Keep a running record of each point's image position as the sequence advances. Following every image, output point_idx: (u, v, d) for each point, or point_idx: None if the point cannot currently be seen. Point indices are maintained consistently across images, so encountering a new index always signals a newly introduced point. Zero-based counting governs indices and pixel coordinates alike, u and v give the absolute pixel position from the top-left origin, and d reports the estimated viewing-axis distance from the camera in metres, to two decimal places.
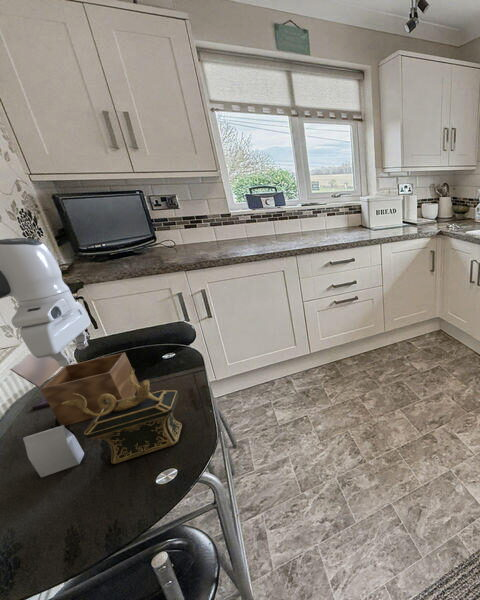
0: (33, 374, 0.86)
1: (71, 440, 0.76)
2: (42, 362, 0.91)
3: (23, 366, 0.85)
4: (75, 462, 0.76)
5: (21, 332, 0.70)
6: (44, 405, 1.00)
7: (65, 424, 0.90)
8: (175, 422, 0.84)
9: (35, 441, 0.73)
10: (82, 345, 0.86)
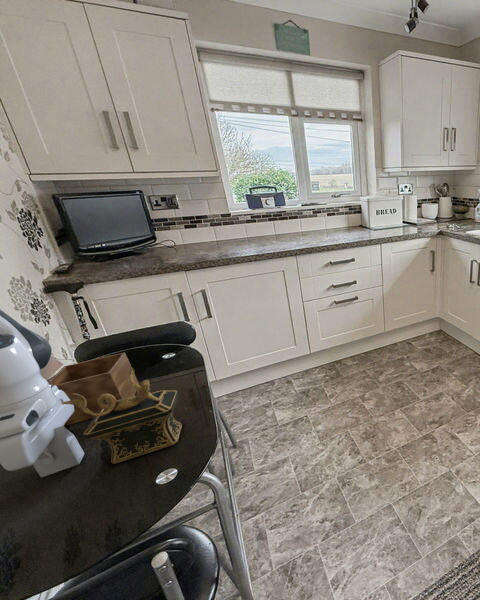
0: None
1: (71, 440, 0.76)
2: None
3: None
4: (75, 462, 0.76)
5: None
6: None
7: (65, 424, 0.90)
8: (175, 422, 0.84)
9: None
10: None
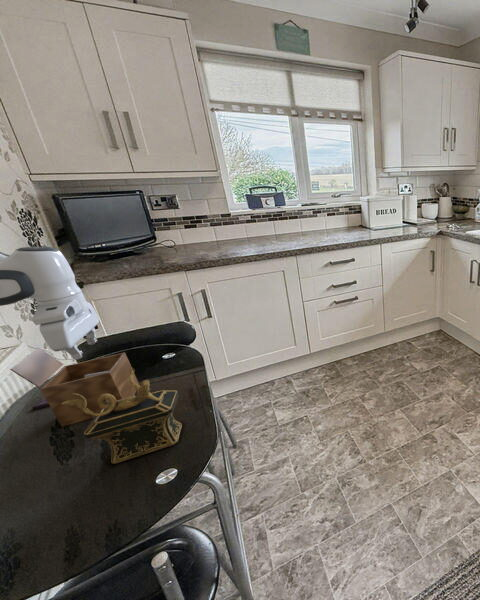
0: (33, 374, 0.86)
1: None
2: (42, 362, 0.91)
3: (23, 366, 0.85)
4: None
5: (40, 328, 0.80)
6: (44, 405, 1.00)
7: (65, 424, 0.90)
8: (175, 422, 0.84)
9: None
10: (92, 341, 0.96)
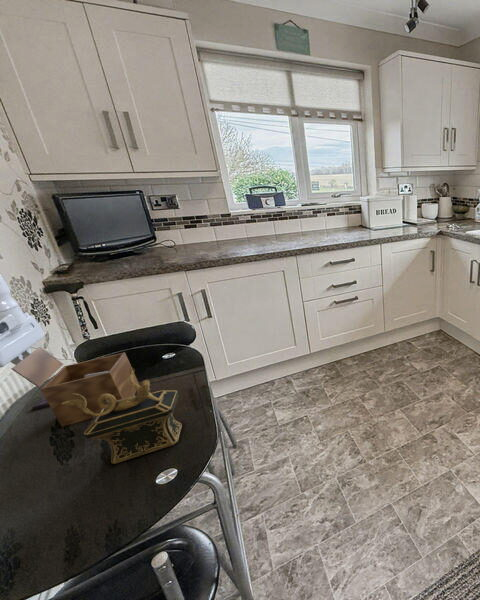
0: (34, 374, 0.86)
1: None
2: (43, 362, 0.91)
3: (24, 365, 0.85)
4: None
5: None
6: (44, 405, 1.00)
7: (65, 424, 0.90)
8: (175, 422, 0.84)
9: None
10: None
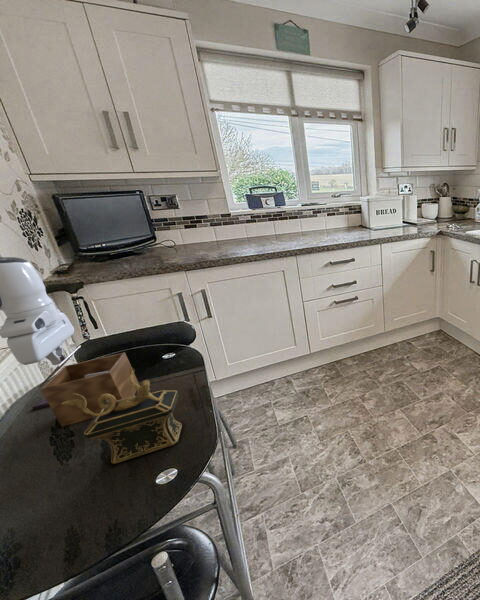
0: (53, 374, 0.88)
1: None
2: None
3: None
4: None
5: (8, 342, 0.79)
6: (44, 405, 1.00)
7: (65, 424, 0.90)
8: (175, 422, 0.84)
9: None
10: None
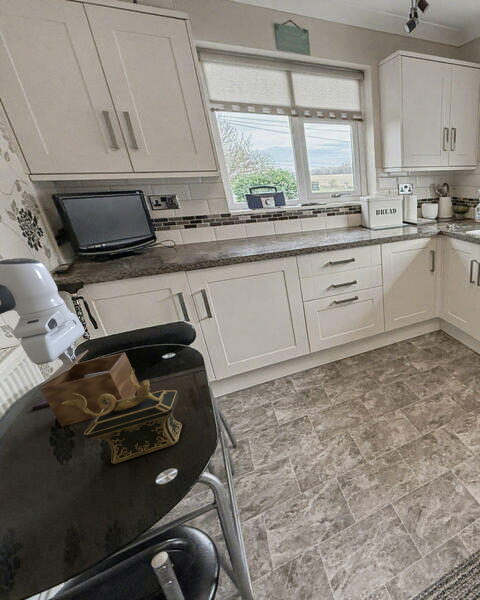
0: None
1: None
2: None
3: None
4: None
5: (21, 342, 0.80)
6: (44, 405, 1.00)
7: (65, 424, 0.90)
8: (175, 422, 0.84)
9: None
10: None
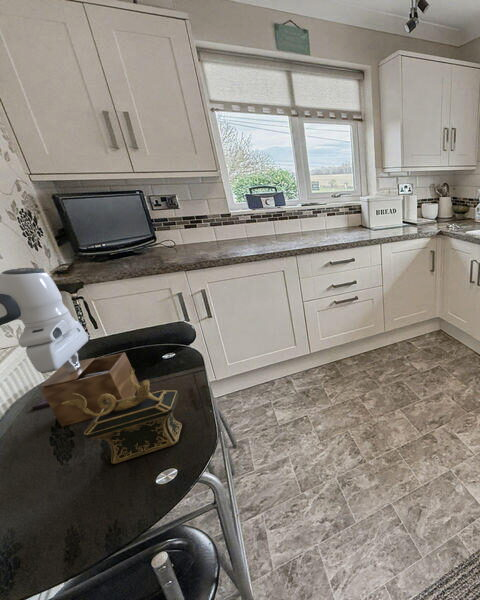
0: None
1: None
2: None
3: None
4: None
5: (27, 351, 0.80)
6: (44, 405, 1.00)
7: (65, 424, 0.90)
8: (175, 422, 0.84)
9: None
10: None
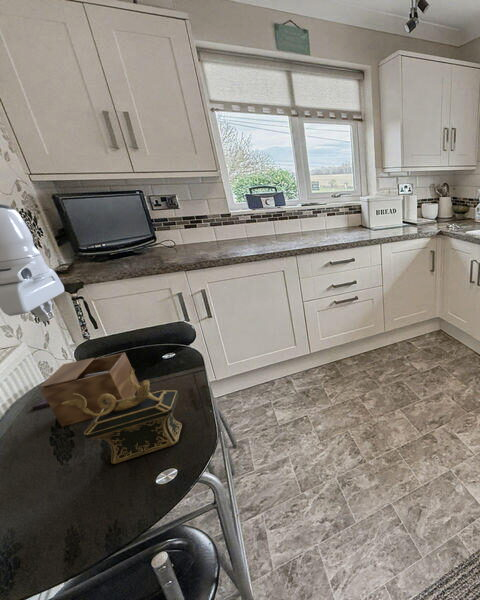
0: None
1: None
2: None
3: None
4: None
5: None
6: (44, 405, 1.00)
7: (65, 424, 0.90)
8: (175, 422, 0.84)
9: None
10: None
